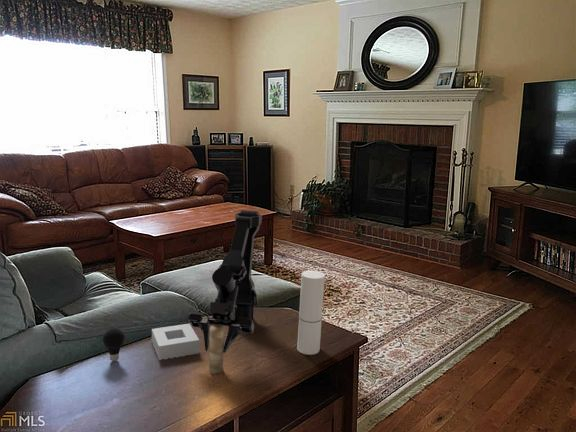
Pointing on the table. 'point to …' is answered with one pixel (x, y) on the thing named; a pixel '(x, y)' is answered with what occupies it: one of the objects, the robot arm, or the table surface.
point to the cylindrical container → (310, 312)
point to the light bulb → (113, 342)
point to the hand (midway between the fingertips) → (215, 351)
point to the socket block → (175, 341)
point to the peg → (216, 349)
